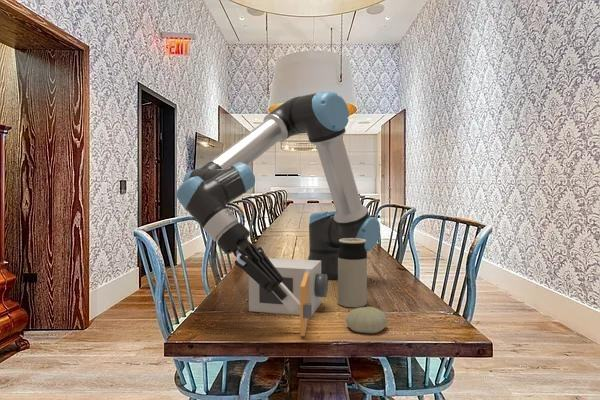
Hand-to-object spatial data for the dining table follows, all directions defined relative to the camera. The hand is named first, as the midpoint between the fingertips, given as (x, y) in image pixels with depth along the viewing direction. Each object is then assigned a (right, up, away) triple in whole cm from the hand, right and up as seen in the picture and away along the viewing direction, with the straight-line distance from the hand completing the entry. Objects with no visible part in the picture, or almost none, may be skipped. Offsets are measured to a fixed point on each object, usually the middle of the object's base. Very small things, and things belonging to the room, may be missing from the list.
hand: (296, 307), depth 99 cm
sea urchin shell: (+16, -6, +3) cm, 18 cm away
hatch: (+3, -5, +3) cm, 6 cm away
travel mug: (+15, -5, +22) cm, 27 cm away
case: (-2, -5, +19) cm, 19 cm away
